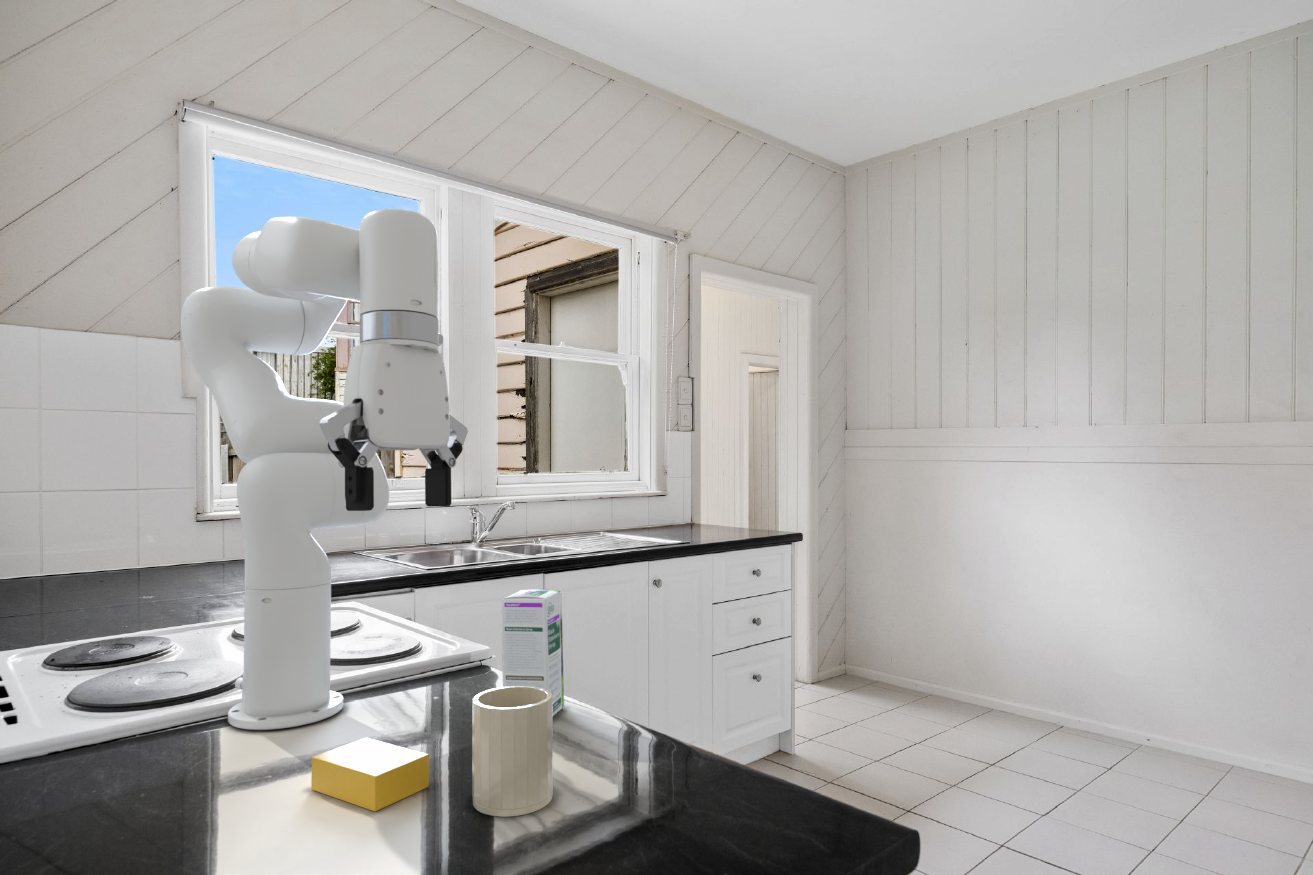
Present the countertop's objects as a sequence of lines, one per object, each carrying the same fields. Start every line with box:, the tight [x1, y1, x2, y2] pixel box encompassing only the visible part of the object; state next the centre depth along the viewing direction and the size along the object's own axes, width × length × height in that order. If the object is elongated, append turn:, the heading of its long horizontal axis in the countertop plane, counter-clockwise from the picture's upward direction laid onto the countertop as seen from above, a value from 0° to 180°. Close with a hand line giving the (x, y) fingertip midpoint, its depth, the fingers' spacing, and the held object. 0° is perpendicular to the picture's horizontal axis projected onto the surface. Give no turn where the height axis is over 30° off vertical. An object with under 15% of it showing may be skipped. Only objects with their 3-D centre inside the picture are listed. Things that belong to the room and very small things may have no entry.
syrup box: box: [500, 588, 565, 717], centre depth 91 cm, size 6×6×14 cm
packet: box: [310, 737, 430, 812], centre depth 70 cm, size 9×6×3 cm, turn 58°
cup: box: [471, 686, 554, 818], centre depth 68 cm, size 7×7×9 cm
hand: (401, 508), depth 75 cm, fingers open, 9 cm apart
